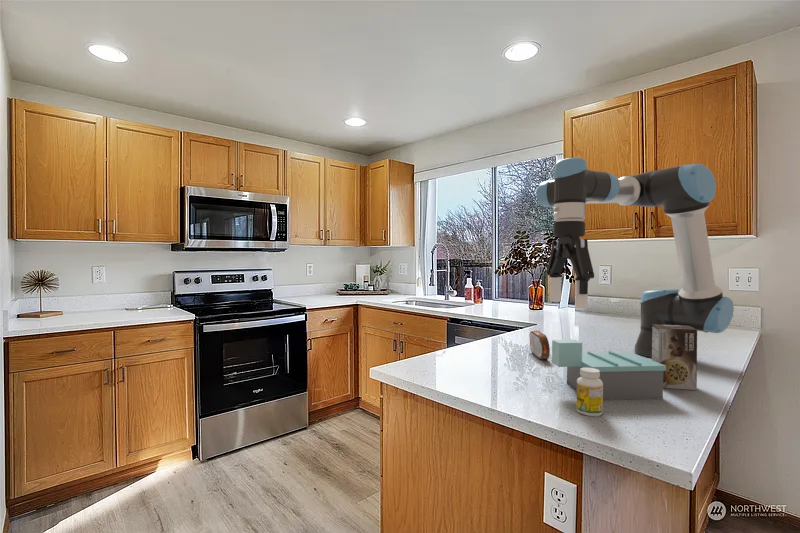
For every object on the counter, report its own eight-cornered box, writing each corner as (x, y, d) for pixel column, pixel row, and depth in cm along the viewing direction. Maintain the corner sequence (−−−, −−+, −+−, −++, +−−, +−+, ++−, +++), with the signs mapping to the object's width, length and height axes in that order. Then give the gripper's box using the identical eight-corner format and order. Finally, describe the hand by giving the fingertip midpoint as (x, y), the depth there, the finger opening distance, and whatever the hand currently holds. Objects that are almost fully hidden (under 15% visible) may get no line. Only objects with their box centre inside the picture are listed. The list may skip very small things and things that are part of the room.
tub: (629, 382, 116) (630, 357, 116) (662, 398, 103) (663, 370, 103) (566, 383, 115) (567, 358, 115) (592, 400, 102) (593, 371, 102)
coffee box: (687, 383, 116) (689, 325, 115) (697, 391, 109) (698, 329, 109) (650, 380, 118) (651, 323, 118) (657, 387, 112) (659, 327, 111)
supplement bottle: (607, 417, 91) (607, 373, 91) (582, 417, 91) (583, 373, 91) (595, 408, 97) (596, 366, 96) (572, 407, 97) (573, 366, 96)
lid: (630, 356, 117) (631, 335, 116) (666, 370, 103) (666, 346, 103) (543, 358, 115) (544, 336, 114) (568, 372, 101) (568, 347, 101)
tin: (550, 362, 138) (550, 336, 138) (540, 362, 138) (541, 336, 138) (536, 351, 153) (536, 328, 153) (527, 351, 153) (528, 328, 153)
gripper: (535, 224, 119) (533, 299, 120) (580, 216, 94) (577, 311, 95) (560, 224, 120) (559, 299, 120) (612, 216, 95) (609, 311, 95)
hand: (567, 304), depth 107 cm, fingers open, 13 cm apart
